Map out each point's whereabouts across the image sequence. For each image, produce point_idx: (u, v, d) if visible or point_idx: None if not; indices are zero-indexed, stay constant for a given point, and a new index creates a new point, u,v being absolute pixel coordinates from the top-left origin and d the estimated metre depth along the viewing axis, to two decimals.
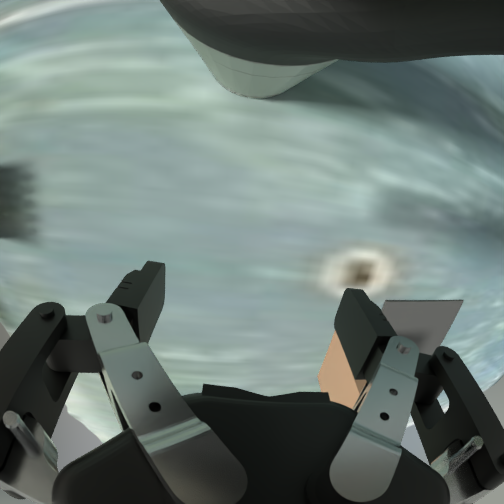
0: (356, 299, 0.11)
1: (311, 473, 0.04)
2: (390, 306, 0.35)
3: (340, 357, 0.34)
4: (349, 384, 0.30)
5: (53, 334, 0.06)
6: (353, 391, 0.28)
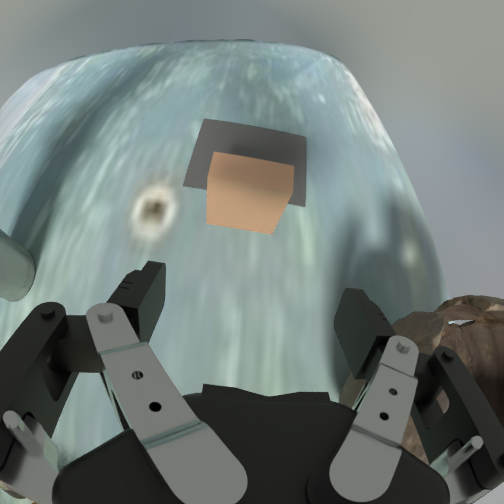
0: (356, 299, 0.11)
1: (311, 473, 0.04)
2: (189, 180, 0.45)
3: (216, 212, 0.39)
4: (217, 194, 0.35)
5: (53, 334, 0.06)
6: (215, 188, 0.34)
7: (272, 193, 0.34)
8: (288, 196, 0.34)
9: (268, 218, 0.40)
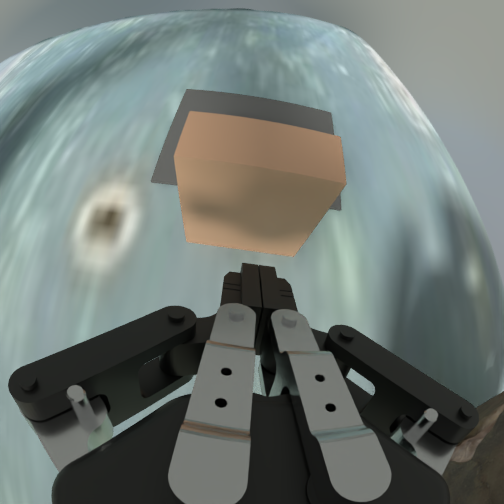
0: (260, 274, 0.12)
1: (306, 495, 0.04)
2: (160, 173, 0.28)
3: (199, 223, 0.22)
4: (198, 190, 0.18)
5: (170, 340, 0.07)
6: (192, 178, 0.17)
7: (306, 185, 0.17)
8: (335, 192, 0.17)
9: (291, 232, 0.23)
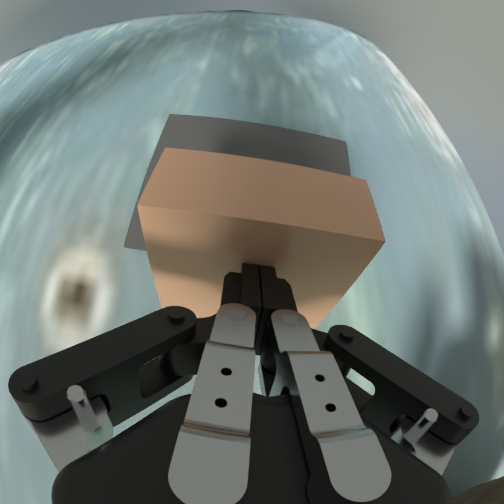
0: (260, 274, 0.12)
1: (306, 495, 0.04)
2: (135, 235, 0.23)
3: (180, 303, 0.17)
4: (175, 259, 0.13)
5: (170, 340, 0.07)
6: (166, 241, 0.12)
7: (330, 248, 0.12)
8: (369, 255, 0.12)
9: (302, 314, 0.17)
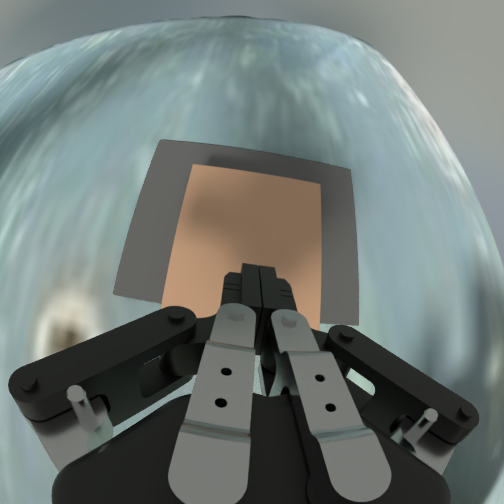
0: (260, 274, 0.12)
1: (306, 495, 0.04)
2: (124, 283, 0.21)
3: (189, 263, 0.18)
4: (202, 202, 0.20)
5: (170, 340, 0.07)
6: (201, 186, 0.20)
7: (293, 188, 0.21)
8: (317, 194, 0.21)
9: (300, 269, 0.19)
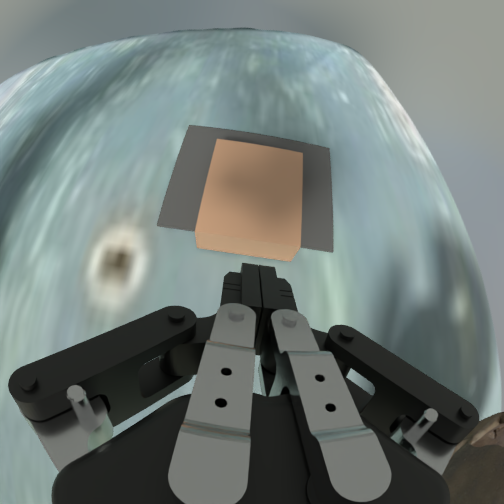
0: (260, 274, 0.12)
1: (306, 495, 0.04)
2: (165, 217, 0.31)
3: (215, 196, 0.28)
4: (223, 161, 0.30)
5: (170, 340, 0.07)
6: (222, 152, 0.30)
7: (284, 155, 0.31)
8: (300, 158, 0.31)
9: (287, 202, 0.29)
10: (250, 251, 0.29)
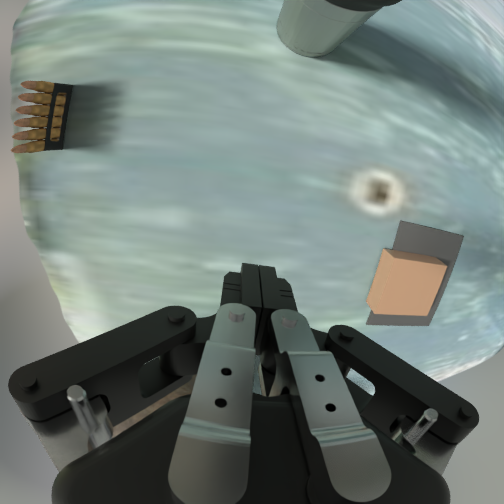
0: (260, 274, 0.12)
1: (306, 495, 0.04)
2: (404, 226, 0.42)
3: (411, 268, 0.41)
4: (431, 271, 0.41)
5: (170, 340, 0.07)
6: (437, 270, 0.41)
7: (428, 305, 0.43)
8: (423, 314, 0.44)
9: (400, 307, 0.43)
10: (376, 281, 0.44)
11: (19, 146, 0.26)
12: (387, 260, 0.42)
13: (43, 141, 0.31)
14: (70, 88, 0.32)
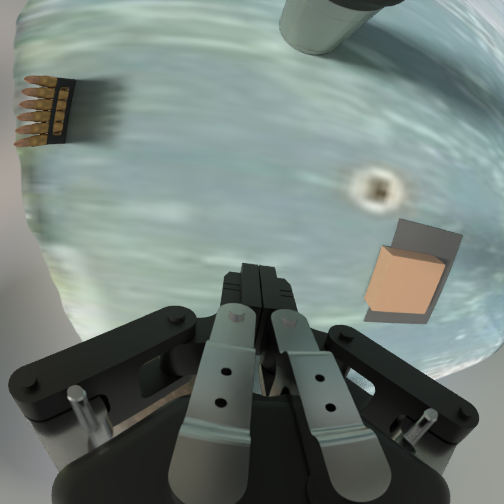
0: (260, 274, 0.12)
1: (306, 495, 0.04)
2: (403, 224, 0.43)
3: (409, 266, 0.41)
4: (430, 269, 0.41)
5: (170, 340, 0.07)
6: (435, 268, 0.41)
7: (425, 303, 0.44)
8: (421, 312, 0.45)
9: (397, 304, 0.44)
10: (374, 279, 0.45)
11: (22, 140, 0.26)
12: (385, 257, 0.42)
13: (46, 135, 0.31)
14: (72, 83, 0.32)
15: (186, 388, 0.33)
